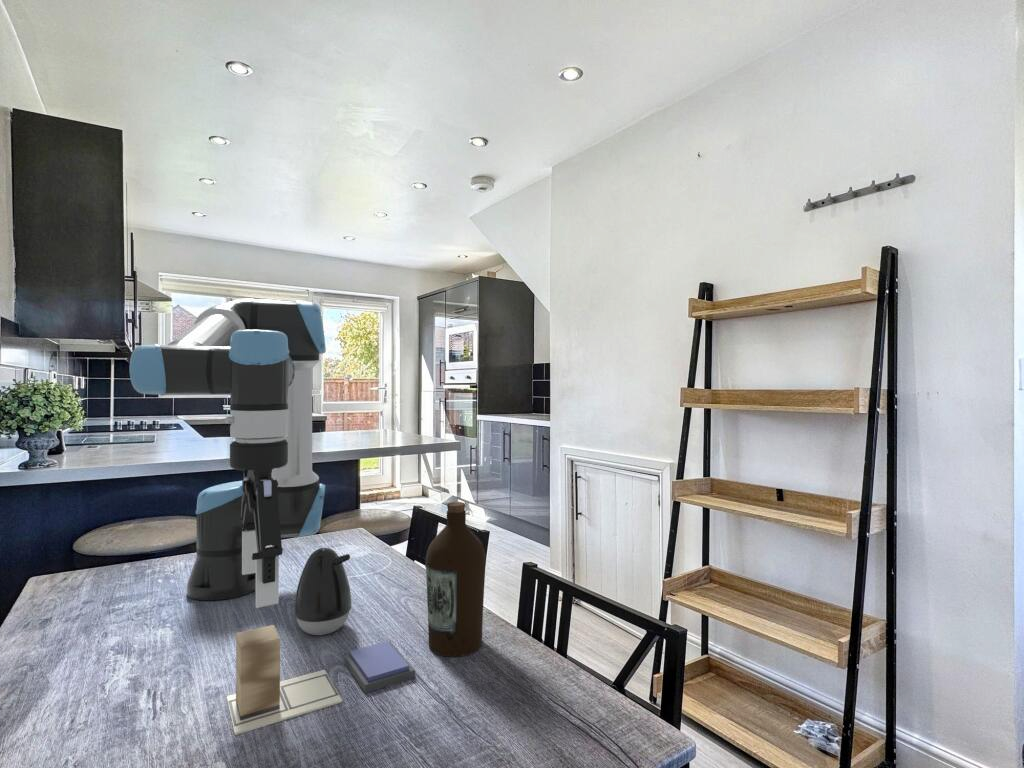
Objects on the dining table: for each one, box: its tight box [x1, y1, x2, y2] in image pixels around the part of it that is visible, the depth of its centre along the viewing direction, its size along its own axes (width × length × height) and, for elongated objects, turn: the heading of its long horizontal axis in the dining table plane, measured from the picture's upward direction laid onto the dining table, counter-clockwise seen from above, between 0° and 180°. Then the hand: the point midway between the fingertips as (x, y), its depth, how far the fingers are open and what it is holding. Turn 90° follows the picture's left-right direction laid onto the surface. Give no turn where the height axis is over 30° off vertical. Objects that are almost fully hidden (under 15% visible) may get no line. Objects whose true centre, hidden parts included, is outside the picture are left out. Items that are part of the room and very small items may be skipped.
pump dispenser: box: [293, 547, 352, 636], centre depth 103 cm, size 10×10×15 cm
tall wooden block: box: [235, 624, 281, 721], centre depth 78 cm, size 5×5×10 cm
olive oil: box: [424, 501, 487, 658], centre depth 97 cm, size 11×11×25 cm
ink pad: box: [343, 641, 416, 694], centre depth 89 cm, size 11×8×2 cm
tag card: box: [226, 669, 343, 736], centre depth 80 cm, size 10×14×1 cm
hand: (259, 587), depth 78 cm, fingers open, 13 cm apart
